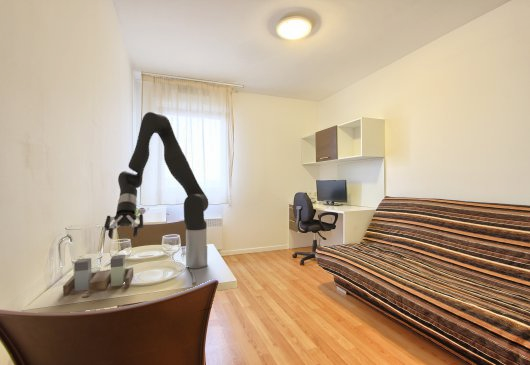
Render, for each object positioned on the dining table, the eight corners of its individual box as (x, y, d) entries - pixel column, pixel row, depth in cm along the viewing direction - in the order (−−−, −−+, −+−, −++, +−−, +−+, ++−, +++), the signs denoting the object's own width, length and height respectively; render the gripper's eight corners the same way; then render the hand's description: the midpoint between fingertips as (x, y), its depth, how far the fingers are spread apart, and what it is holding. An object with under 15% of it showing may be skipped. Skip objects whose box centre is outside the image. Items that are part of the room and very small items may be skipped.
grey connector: (91, 284, 93) (91, 258, 93) (88, 289, 90) (87, 261, 89) (78, 286, 92) (78, 259, 92) (74, 291, 88) (74, 262, 88)
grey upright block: (125, 280, 97) (124, 254, 97) (123, 284, 93) (122, 258, 93) (113, 282, 96) (113, 255, 96) (110, 286, 92) (110, 259, 92)
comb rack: (133, 278, 102) (133, 267, 102) (129, 290, 91) (128, 277, 91) (75, 285, 95) (75, 273, 95) (63, 299, 85) (63, 285, 85)
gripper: (107, 201, 109) (101, 233, 99) (143, 200, 114) (141, 230, 104) (110, 211, 114) (104, 243, 104) (145, 210, 119) (142, 240, 109)
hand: (122, 236), depth 104 cm, fingers open, 8 cm apart
